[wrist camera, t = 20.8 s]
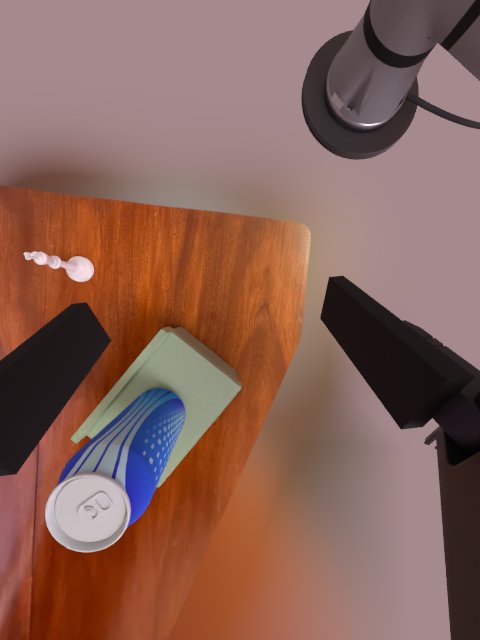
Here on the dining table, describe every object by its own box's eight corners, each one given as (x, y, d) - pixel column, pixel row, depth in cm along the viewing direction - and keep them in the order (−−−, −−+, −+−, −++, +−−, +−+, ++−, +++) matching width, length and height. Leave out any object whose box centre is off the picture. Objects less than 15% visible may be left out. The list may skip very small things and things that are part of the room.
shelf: (240, 372, 39) (242, 393, 29) (173, 452, 40) (153, 500, 30) (179, 323, 38) (161, 328, 28) (111, 406, 39) (69, 439, 29)
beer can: (186, 435, 31) (137, 564, 15) (134, 433, 31) (30, 562, 15) (189, 386, 31) (143, 465, 15) (137, 383, 31) (33, 461, 15)
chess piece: (98, 274, 37) (50, 260, 27) (77, 286, 37) (20, 277, 27) (85, 252, 37) (31, 230, 27) (63, 264, 37) (0, 247, 27)
